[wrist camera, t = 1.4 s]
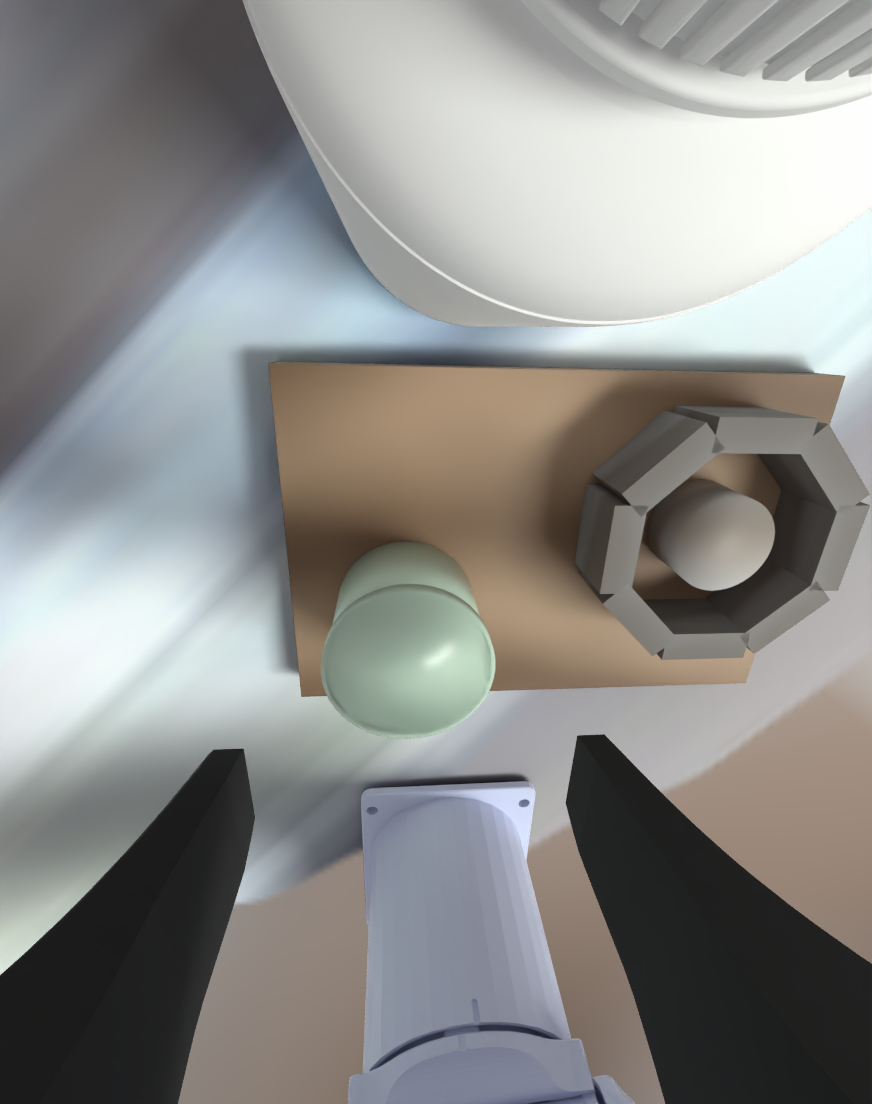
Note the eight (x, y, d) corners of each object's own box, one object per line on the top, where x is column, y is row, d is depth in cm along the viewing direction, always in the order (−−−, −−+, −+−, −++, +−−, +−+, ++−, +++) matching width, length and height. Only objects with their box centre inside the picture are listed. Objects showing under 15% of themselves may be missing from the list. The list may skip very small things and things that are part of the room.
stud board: (728, 665, 22) (787, 723, 19) (306, 677, 21) (289, 743, 17) (816, 373, 17) (916, 382, 14) (276, 361, 16) (246, 368, 12)
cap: (471, 659, 19) (489, 735, 16) (339, 663, 19) (326, 741, 15) (478, 538, 17) (501, 592, 14) (331, 538, 17) (314, 595, 13)
